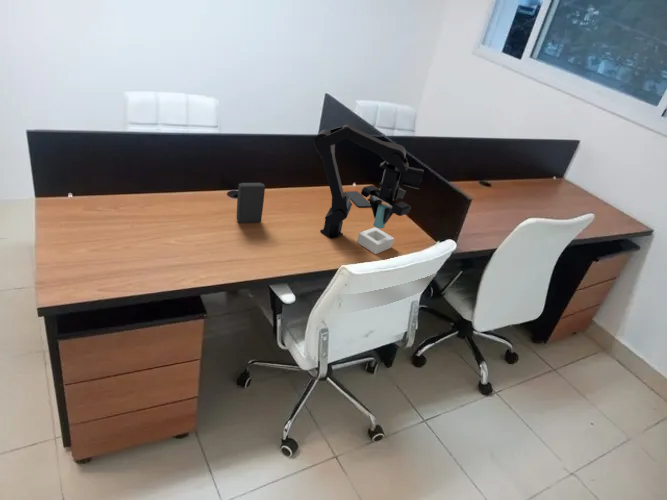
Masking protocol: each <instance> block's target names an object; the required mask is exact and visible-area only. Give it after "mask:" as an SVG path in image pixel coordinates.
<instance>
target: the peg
mask: <svg viewBox="0 0 667 500" xmlns="http://www.w3.org/2000/svg"><path fill="white" fill-rule="evenodd" d="M386 208H389V205H388V204H387V203H381V204H379V205H378V209H377V213H376V217H375V218H374V222H373V227H376V228H378V229H380V230H381V229H385V225H386V224H383V219H384V211H385V209H386Z"/></svg>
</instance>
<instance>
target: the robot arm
mask: <svg viewBox="0 0 667 500" xmlns="http://www.w3.org/2000/svg"><path fill="white" fill-rule="evenodd" d="M344 140H348V141H349V142H352V143H354V144H357V145H359V146H361V147H362V148H365V149H367V150H369V151H371V152H373V153H375V154H377V155H378V156H380V158H382V160H384V161H383V162H381V163H380V165H379V168H380V169H384V170H383V174H382V178H381V179H382V180H381V182H378V187H376V186H375V185H373V184H371V185H367V186H364V187H362V189H361V192H360V194H361V195H362V196H363V197H364V198H368V197H369V198H368V199H367V201H368V202H369V203H370V205H371V207H370V208H371V211H372V215H373V218H374V219H375V217H376V213H377V209H378V205H379V204H383V202H384V204H386V205H388V206H389V208H386V209H385V211H384V219H383V224H385V225H386V224H387V222H388V221H390V218H392V216H393V215H396V216H398V217H401V216H404V215H407V214H410V212H411V206H410V204H408V203H406V202H404V201H399V202H398V201H394V200H398V199H401V200H403V198H404V197H405V195H406V193H407V190H406V189H405V190H404V189H403V188H401V186H400V185H399V182H401V185H403V186H404V187H408V188H412V189H417V190H420V188H421V184H422V180H423V175H424V172H425V171H424V169H422V168H416V167H411V166H409V162H408V158H407V157H406V155H407V150H406V148H405V147H404V146H403V145H401V144H398V143H394V142H389V141H383V140H381V139H379V138H378V137H375V136H373V135H371V134H368V133H367V132H365V131H362V130H361V129H358V128H356V127H354V126H352V125H351V124H349V123H347V124H344V125H341V126H339V127H335V128H334V127H333V128H332V129H322V130H321V131H319V132H318V134H316V136H315V137H314V139H313V144H314V145H313V146H314V147H315V149H316V152H317V154H318V155H319V156H320V158H321V159H322V162H323V165H324V166H323V167H324V170H325V171H324V172H325V174H326V177H327V181H328V185H329V190H330V193H331V207H330V208H329V209H328V211H327V213H326V215H325V217H324V224H323V229H320V231H319V232H320V233H321V234H322V235H324V236H326V237H327V238H329V239H331V240H333V239H336V238H338V237H341V236H342V237H343V235H344V233H343V232H342V228H343V227H342V226H343V221H345V220H346V219H347V218H348V216H349V214H350V211H351V209H352V205H353V202H352V201H351V200H350V195H348V196H346V195H345V193H344V192H345V191H344V189H343V184H342V182H341V177H340V173H339V168H338V164H337V163H338V162H337V159H336V155H335V154H336V150H335V149H336V144H338V143H340V142H342V141H344ZM401 175H402V177H401ZM400 178H401V180H400Z"/></svg>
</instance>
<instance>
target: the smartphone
mask: <svg viewBox="0 0 667 500" xmlns="http://www.w3.org/2000/svg"><path fill="white" fill-rule="evenodd" d="M343 192H344V194H345V195H346V196H348V195H350V201H351V203H352V204H354V206H356V208H359V209H360V208H361V209H363V208H372V207H371V205H370V202H369V201H368V199H367V198H366V197H365V196H363V195H361V192H359V191H356V190H355V191H354V190H353V191H343Z"/></svg>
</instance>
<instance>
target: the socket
mask: <svg viewBox="0 0 667 500" xmlns="http://www.w3.org/2000/svg"><path fill="white" fill-rule="evenodd" d="M394 240H395V238H394V237H393V236H391V235H390V234H387V233H386V232H385V231H383V230H381V229H379V228H376V227H375V226H373V227H372V228H369V229H366V230H364V231H360V232H359V233H358V236H357V240H356V243H358V244H359V245H361V246H362V247H364V248H365V249H367V250H368V251H370V252H371V253H373V254H375V255H377V254H379V253H382V252H384V251H386V250H389V249H391V248H392V247H393V244H394Z"/></svg>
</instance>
